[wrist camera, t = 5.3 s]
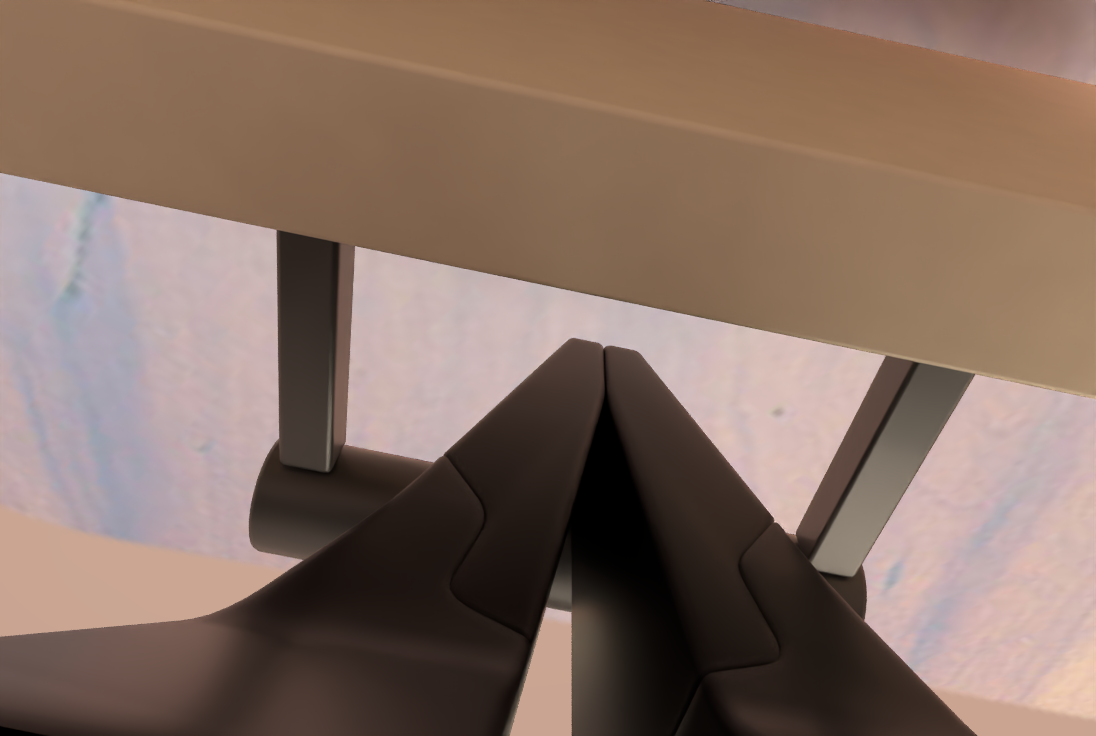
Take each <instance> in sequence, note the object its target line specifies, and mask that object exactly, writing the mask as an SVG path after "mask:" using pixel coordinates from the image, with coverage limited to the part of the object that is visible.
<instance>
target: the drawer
mask: <svg viewBox="0 0 1096 736" xmlns="http://www.w3.org/2000/svg"><path fill="white" fill-rule="evenodd" d="M0 173H4V174H9V175H14V176H19V177H24V178H29V179H34V180H38V181H43V182H48V183H53V184H58V185H63V186H67V187H72V188H77V189H82V190H87V191H92V192H96V193H101V194H106V195H111V196H116V197H121V198H125V199H130V200H135V201H140V202H145V203H150V204H155V205H159V206H164V207H169V208H174V209H179V210H184V211H188V212H193V213H198V214H203V215H208V216H213V217H217V218H222V219H227V220H232V221H237V222H242V223H246V224H251V225H256V226H261V227H266V228H271V229H276V230H277V294H278V370H279V439H278V440H277V441H276V442H275V444H274V445H273V447H272V448H271V450H270V452H269V453H268V455H267V457H266V459H265V461H264V463H263V466H262V468H261V471H260V473H259V476H258V479H257V482H256V486H255V489H254V493H253V497H252V502H251V508H250V516H249V537H250V542H251V544H252V546H253V547H254V548H255V549H257V550H258V551H261V552H266V553H271V554H276V555H281V556H287V557H292V558H297V559H302V560H304V559H306V558H307V557H309V556H310V555H312V554H313V553H315V552H316V551H318V550H319V549H321V548H322V547H324V546H325V545H327V544H328V543H330V542H331V541H333V540H334V539H336V538H337V537H338V536H340V535H341V534H343V533H344V532H346V531H347V530H349V529H350V528H352V527H353V526H355V525H356V524H358V523H359V522H360V521H362V520H363V519H365V518H366V517H367V516H369V515H370V514H372V513H373V512H374V511H376V510H377V509H378V508H380V507H381V506H383V505H384V504H385V503H387V502H388V501H390V500H391V499H392V498H394V497H395V496H396V495H397V494H399V493H400V492H401V491H402V490H403V489H405V488H406V487H407V486H408V485H409V484H411V483H412V482H413V481H414V480H415V479H416V478H418V477H419V476H420V475H421V474H422V473H423V472H425V471H426V470H427V469H428V468H429V467H430V466H431V465H432V464H433V462H428V461H423V460H418V459H413V458H408V457H403V456H398V455H393V454H388V453H383V452H378V451H373V450H368V449H363V448H358V447H353V446H348V445H344V444H345V442H346V421H347V400H348V380H349V359H350V338H351V318H352V297H353V276H354V256H355V246H358V247H363V248H367V249H372V250H377V251H382V252H387V253H392V254H397V255H401V256H406V257H411V258H416V259H421V260H426V261H430V262H435V263H440V264H445V265H450V266H455V267H459V268H464V269H469V270H474V271H479V272H484V273H488V274H493V275H498V276H503V277H508V278H513V279H518V280H522V281H527V282H532V283H537V284H542V285H547V286H551V287H556V288H561V289H566V290H571V291H576V292H580V293H585V294H590V295H595V296H600V297H605V298H609V299H614V300H619V301H624V302H629V303H634V304H639V305H643V306H648V307H653V308H658V309H663V310H668V311H672V312H677V313H682V314H687V315H692V316H697V317H701V318H706V319H711V320H716V321H721V322H726V323H730V324H735V325H740V326H745V327H750V328H755V329H759V330H764V331H769V332H774V333H779V334H784V335H789V336H793V337H798V338H803V339H808V340H813V341H818V342H822V343H827V344H832V345H837V346H842V347H847V348H851V349H856V350H861V351H866V352H871V353H876V354H880V355H885V356H886V357H885V359H884V361H883V363H882V365H881V366H880V368H879V370H878V372H877V374H876V376H875V378H874V380H873V382H872V384H871V386H870V388H869V390H868V392H867V394H866V396H865V398H864V400H863V402H862V404H861V406H860V408H859V410H858V411H857V413H856V415H855V417H854V419H853V421H852V423H851V425H850V427H849V429H848V431H847V433H846V435H845V437H844V439H843V441H842V443H841V445H840V447H839V449H838V451H837V453H836V455H835V456H834V458H833V460H832V462H831V464H830V466H829V468H828V470H827V472H826V474H825V476H824V478H823V480H822V482H821V484H820V486H819V488H818V490H817V492H816V494H815V496H814V498H813V500H812V501H811V503H810V505H809V507H808V509H807V511H806V513H805V515H804V517H803V519H802V521H801V523H800V525H799V527H798V529H797V531H796V535H794V534H789V533H786V534H787V535H788V536H789V537H790V538H791V540H792V541H793V542H794V543H795V545H796V546H797V547H798V548H799V549H800V551H801V552H802V553H803V554H804V555H805V556H806V558H807V559H808V560H809V561H810V562H811V563H812V565H813V566H814V567H815V568H816V569H817V570H818V572H819V573H820V574H821V575H822V576H823V577H824V579H825V580H826V581H827V582H828V583H829V584H830V585H831V586H832V587H833V588H834V589H835V591H836V592H837V593H838V594H839V595H840V596H841V597H842V598H843V599H844V600H845V601H846V602H847V603H848V604H849V605H850V607H851V608H852V609H853V610H854V611H855V612H856V613H857V614H858V615H859V616H860V617H861V618H862V619H863V620H864V619H865V613H866V602H867V591H866V580H865V574H864V570H863V566H862V563H863V561H864V560H865V558H866V556H867V555H868V553H869V551H870V550H871V548H872V546H873V545H874V543H875V541H876V540H877V538H878V536H879V535H880V533H881V531H882V530H883V528H884V526H885V525H886V523H887V521H888V520H889V518H890V516H891V515H892V513H893V511H894V509H895V508H896V506H897V504H898V503H899V501H900V499H901V498H902V496H903V494H904V493H905V491H906V489H907V488H908V486H909V484H910V483H911V481H912V479H913V478H914V476H915V474H916V473H917V471H918V469H919V468H920V466H921V464H922V463H923V461H924V459H925V458H926V456H927V454H928V453H929V451H930V449H931V448H932V446H933V444H934V443H935V441H936V439H937V438H938V436H939V434H940V433H941V431H942V429H943V428H944V426H945V424H946V422H947V421H948V419H949V417H950V416H951V414H952V412H953V411H954V409H955V407H956V406H957V404H958V402H959V401H960V399H961V397H962V396H963V394H964V392H965V391H966V389H967V387H968V386H969V384H970V382H971V381H972V379H973V377H974V376H975V374H977V375H982V376H987V377H992V378H997V379H1001V380H1006V381H1011V382H1016V383H1021V384H1026V385H1031V386H1035V387H1040V388H1045V389H1050V390H1055V391H1060V392H1064V393H1069V394H1074V395H1079V396H1084V397H1089V398H1093V399H1096V85H1091V84H1087V83H1082V82H1077V81H1073V80H1068V79H1064V78H1059V77H1054V76H1050V75H1045V74H1041V73H1036V72H1032V71H1027V70H1022V69H1018V68H1013V67H1009V66H1004V65H999V64H995V63H990V62H986V61H981V60H976V59H972V58H967V57H963V56H958V55H954V54H949V53H944V52H940V51H935V50H931V49H926V48H921V47H917V46H912V45H908V44H903V43H898V42H894V41H889V40H885V39H880V38H876V37H871V36H866V35H862V34H857V33H853V32H848V31H843V30H839V29H834V28H830V27H825V26H820V25H816V24H811V23H807V22H802V21H798V20H793V19H788V18H784V17H779V16H775V15H770V14H765V13H761V12H756V11H752V10H747V9H742V8H738V7H733V6H729V5H724V4H720V3H715V2H710V1H706V0H0ZM572 518H573V515H572ZM572 518H571V522H570V526H569V529H568V533H567V536H566V540H565V543H564V547H563V550H562V554H561V557H560V561H559V564H558V568H557V571H556V575H555V578H554V582H553V585H552V589H551V592H550V596H549V599H548V603H547V606H546V607H548V608H553V609H558V610H563V611H568V612H572Z"/></svg>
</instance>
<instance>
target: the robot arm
mask: <svg viewBox="0 0 1096 736" xmlns="http://www.w3.org/2000/svg"><path fill="white" fill-rule="evenodd" d="M572 515H573V518H572ZM571 518H572V736H977V735H976V734H975V733H974V732H973V731H972V730H971V729H970V728H969V727H968V726H967V725H965V724H964V723H963V722H962V721H961V720H960V719H959V718H958V717H957V716H956V715H955V713H954V712H952V711H951V709H950V708H949V707H948V706H947V705H946V704H945V703H944V702H943V701H942V700H941V699H940V698H939V697H938V696H937V695H936V694H935V693H934V692H933V691H932V690H931V689H930V688H929V687H928V686H927V685H926V684H925V683H924V682H923V681H922V680H921V679H920V678H919V677H918V676H917V675H916V674H915V673H914V672H913V671H912V670H911V668H910V667H909V666H908V665H907V664H906V663H905V662H904V661H903V660H902V659H901V658H900V657H899V656H898V655H897V654H896V653H895V652H894V651H893V650H892V649H891V648H890V647H889V646H888V645H887V644H886V643H885V642H884V641H883V640H882V639H881V638H880V637H879V636H878V635H877V634H876V633H875V632H874V631H873V630H872V629H871V628H870V627H869V626H868V625H867V623H866V622H865V621H864V620H863V619H862V618H861V617H860V616H859V615H858V614H857V613H856V612H855V611H854V610H853V609H852V608H851V607H850V605H849V604H848V603H847V602H846V601H845V600H844V599H843V598H842V597H841V596H840V595H839V594H838V593H837V592H836V591H835V589H834V588H833V587H832V586H831V585H830V584H829V583H828V582H827V581H826V580H825V579H824V577H823V576H822V575H821V574H820V573H819V572H818V570H817V569H816V568H815V567H814V566H813V565H812V563H811V562H810V561H809V560H808V559H807V558H806V556H805V555H804V554H803V553H802V552H801V551H800V549H799V548H798V547H797V546H796V545H795V543H794V542H793V541H792V540H791V538H790V537H789V536H788V535H787V534H786V532H785V531H784V530H783V529H782V527H781V526H780V525H779V524H778V523H774V518H773V517H772V516H771V514H770V513H769V512H768V511H767V509H766V508H765V507H764V506H763V504H762V503H761V502H760V501H759V500H758V498H757V497H756V496H755V495H754V493H753V492H752V491H751V490H750V488H749V487H748V486H747V485H746V484H745V482H744V481H743V480H742V479H741V477H740V476H739V475H738V474H737V472H736V471H735V470H734V469H733V468H732V466H731V465H730V464H729V463H728V461H727V460H726V459H725V458H724V456H723V455H722V454H721V453H720V452H719V450H718V449H717V448H716V447H715V445H714V444H713V443H712V442H711V440H710V439H709V438H708V437H707V436H706V434H705V433H704V432H703V431H702V429H701V428H700V427H699V426H698V424H697V423H696V422H695V421H694V419H693V418H692V417H691V416H690V415H689V413H688V412H687V411H686V410H685V408H684V407H683V406H682V405H681V403H680V402H679V401H678V400H677V399H676V397H675V396H674V395H673V394H672V392H671V391H670V390H669V389H668V387H667V386H666V385H665V384H664V383H663V381H662V380H661V379H660V378H659V376H658V375H657V374H656V373H655V371H654V370H653V369H652V368H651V367H650V365H649V364H648V363H647V362H646V360H645V359H644V358H643V357H642V355H641V354H640V353H639V352H637V351H635V350H630V349H625V348H620V347H615V346H607V347H605V348H604V349H603V346H602V345H601V344H599V343H596V342H591V341H586V340H581V339H576V338H571V339H569V340H568V341H567V342H565V343H564V344H563V345H562V346H561V347H560V348H559V349H558V350H557V351H556V352H555V353H553V354H552V355H551V356H550V357H549V358H548V359H547V360H546V361H545V362H544V363H543V364H541V365H540V366H539V367H538V368H537V369H536V370H535V371H534V372H533V373H532V374H531V375H530V376H528V377H527V378H526V379H525V380H524V381H523V382H522V383H521V384H520V385H519V386H518V387H516V388H515V389H514V390H513V391H512V392H511V393H510V394H509V395H508V396H507V397H506V398H504V399H503V400H502V401H501V402H500V403H499V404H498V405H497V406H496V407H495V408H494V409H492V410H491V411H490V412H489V413H488V414H487V415H486V416H485V417H484V418H483V419H482V420H480V421H479V422H478V423H477V424H476V425H475V426H474V427H473V428H472V429H471V430H470V431H468V432H467V433H466V434H465V435H464V436H463V437H462V438H461V439H460V440H459V441H458V442H456V443H455V444H454V445H453V446H452V447H451V448H450V449H449V450H448V451H447V452H446V453H445V454H444V456H442V457H440V458H439V459H437V460H436V461H435V462H434V463H433V464H432V465H431V466H430V467H429V468H428V469H427V470H426V471H425V472H423V473H422V474H421V475H420V476H419V477H418V478H416V479H415V480H414V481H413V482H412V483H411V484H409V485H408V486H407V487H406V488H405V489H403V490H402V491H401V492H400V493H399V494H397V495H396V496H395V497H394V498H392V499H391V500H390V501H388V502H387V503H385V504H384V505H383V506H381V507H380V508H378V509H377V510H376V511H374V512H373V513H372V514H370V515H369V516H367V517H366V518H365V519H363V520H362V521H360V522H359V523H358V524H356V525H355V526H353V527H352V528H350V529H349V530H347V531H346V532H344V533H343V534H341V535H340V536H338V537H337V538H336V539H334V540H333V541H331V542H330V543H328V544H327V545H325V546H324V547H322V548H321V549H319V550H318V551H316V552H315V553H313V554H312V555H310V556H309V557H307V558H306V559H304V560H303V561H301V562H300V563H299V564H297V565H296V566H294V567H293V568H291V569H290V570H288V571H287V572H285V573H284V574H282V575H281V576H279V577H278V578H276V579H275V580H274V581H272V582H270V583H269V584H267V585H266V586H265V587H263V588H262V589H260V590H258V591H257V592H255V593H253V594H252V595H250V596H249V597H247V598H245V599H243V600H241V601H239V602H237V603H235V604H233V605H231V606H229V607H227V608H225V609H222V610H220V611H217V612H215V613H212V614H210V615H206V616H203V617H198V618H194V619H188V620H182V621H171V622H160V623H150V624H138V625H126V626H116V627H104V628H93V629H82V630H72V631H60V632H49V633H38V634H26V635H16V636H5V637H0V736H509V735H510V732H511V728H512V725H513V722H514V718H515V715H516V711H517V708H518V704H519V701H520V696H521V694H522V690H523V687H524V683H525V680H526V676H527V673H528V669H529V666H530V662H531V659H532V655H533V652H534V648H535V645H536V641H537V638H538V634H539V631H540V627H541V624H542V620H543V617H544V613H545V610H546V606H547V603H548V599H549V596H550V592H551V589H552V585H553V582H554V578H555V575H556V571H557V568H558V564H559V561H560V557H561V554H562V550H563V547H564V543H565V540H566V536H567V533H568V529H569V526H570V522H571Z"/></svg>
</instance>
